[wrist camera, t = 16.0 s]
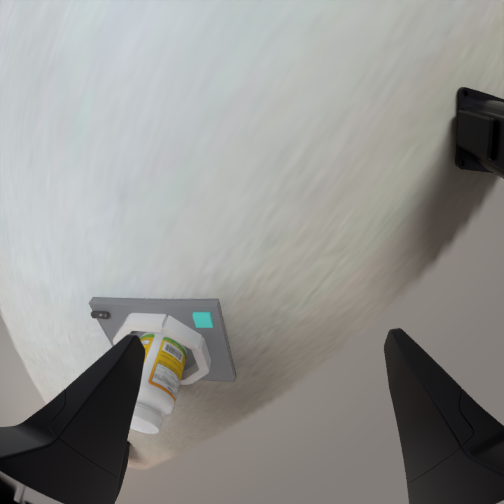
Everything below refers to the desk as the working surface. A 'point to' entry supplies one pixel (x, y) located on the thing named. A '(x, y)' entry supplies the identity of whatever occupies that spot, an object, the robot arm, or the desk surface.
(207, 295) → the desk surface
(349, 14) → the desk surface
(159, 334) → the supplement bottle
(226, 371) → the charging dock
